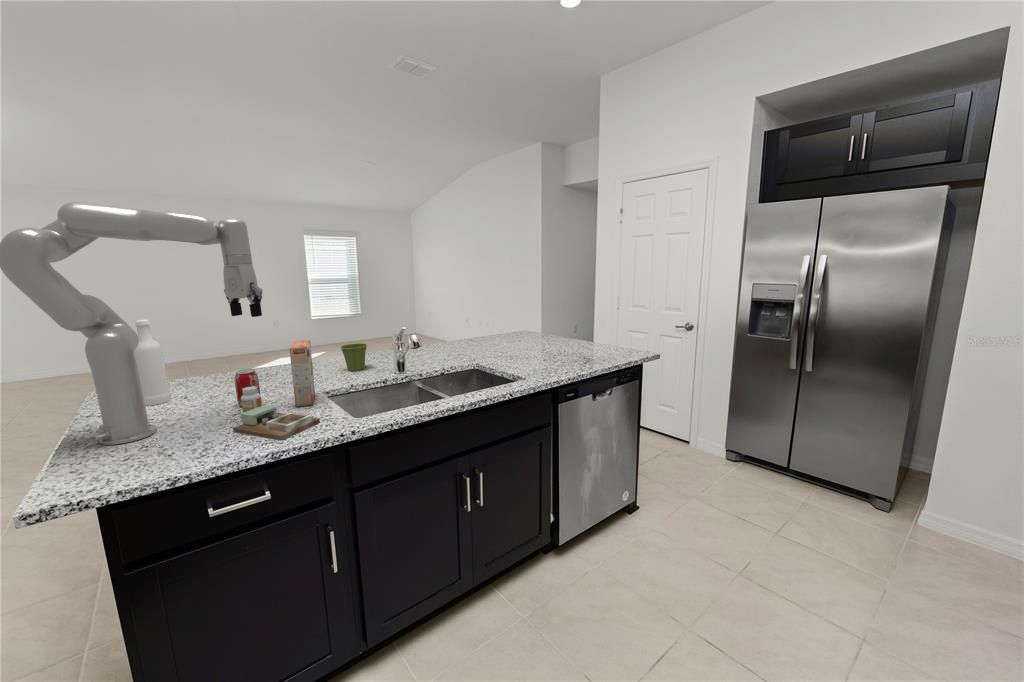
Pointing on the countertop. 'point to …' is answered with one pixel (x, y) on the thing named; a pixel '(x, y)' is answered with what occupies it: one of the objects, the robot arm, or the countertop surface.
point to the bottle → (151, 366)
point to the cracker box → (302, 373)
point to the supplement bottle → (250, 399)
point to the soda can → (245, 382)
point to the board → (278, 425)
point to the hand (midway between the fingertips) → (246, 315)
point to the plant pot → (354, 356)
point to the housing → (257, 414)
